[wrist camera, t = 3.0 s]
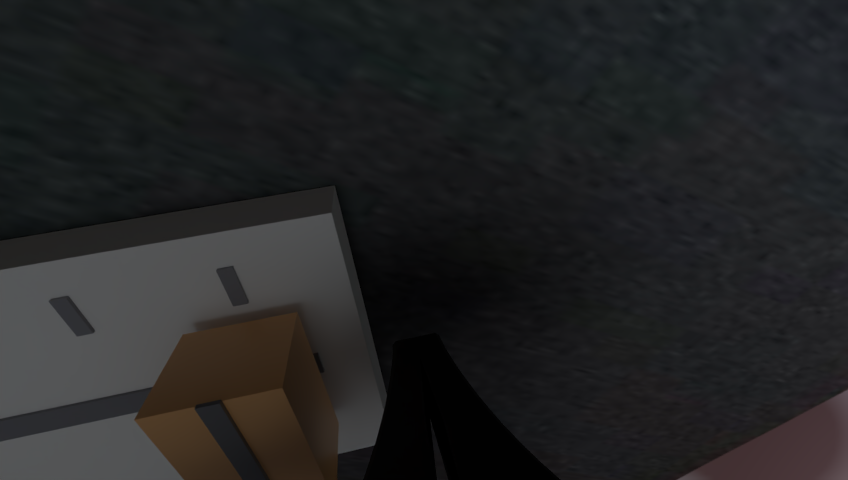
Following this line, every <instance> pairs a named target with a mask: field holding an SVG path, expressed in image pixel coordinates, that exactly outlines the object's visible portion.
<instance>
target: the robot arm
mask: <svg viewBox="0 0 848 480" xmlns="http://www.w3.org/2000/svg"><path fill="white" fill-rule="evenodd" d="M429 415H430V416H429ZM430 419H431V422H432V426H433V429H434V432H435V436H436V439H437V442H438V446H439V449H440V453H441V456H442V459H443V463H444V466H445V469H446V473H447V476H448V479H449V480H560V479H559V478H558V477H557V476H556V475H554V474H553V473H552V472H551V471H550V470H549V469H548V468H547V467H545V466H544V465H543V464H542V463H541V462H540V461H539V460H538V459H537V458H536V457H535V456H534V455H533V454H532V453H531V452H529V451H528V450H527V449H526V448H525V447H524V446H523V445H522V444H521V443H520V442H519V441H518V440H517V439H516V438H515V436H514V435H513V434H512V433H511V432H510V431H509V430H508V429H507V428H506V427H505V426H504V425H503V424H502V423H501V422H500V420H499V419H498V418H497V417H496V416H495V415H494V414H493V412H492V411H491V410H490V409H489V408H488V407H487V405H486V404H485V403H484V402H483V401H482V399H481V398H480V397H479V396H478V394H477V393H476V392H475V391H474V389H473V388H472V387H471V385H470V384H469V383H468V381H467V380H466V379H465V377H464V376H463V375H462V373H461V372H460V370H459V369H458V367H457V366H456V364H455V363H454V361H453V360H452V358H451V357H450V355H449V353H448V352H447V350H446V348H445V347H444V345H443V343H442V341H441V339H440V337H439V335H438V334H436V333H433V334H428V335H424V336H419V337H414V338H409V339H405V340H400V341H396V342H395V343H394V344H393V359H392V369H391V376H390V383H389V388H388V393H387V398H386V404H385V408H384V412H383V416H382V420H381V424H380V428H379V432H378V435H377V439H376V442H375V446H374V449H373V452H372V456H371V459H370V462H369V465H368V468H367V471H366V474H365V477H364V479H363V480H437V477H436V469H435V460H434V451H433V442H432V433H431V424H430Z"/></svg>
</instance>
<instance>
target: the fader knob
mask: <svg viewBox="0 0 848 480" xmlns="http://www.w3.org/2000/svg"><path fill="white" fill-rule="evenodd" d="M134 421H135V422H136V423H137V424H138V425H139V427H140V428H141V429H142V430H143V431H144V433H145V434H146V435H147V436H148V437H149V438H150V440H151V441H152V442H153V443H154V444H155V446H156V447H157V448H158V449H159V450H160V452H161V453H162V454H163V455H164V456H165V458H166V459H167V460H168V461H169V462H170V464H171V465H172V466H173V467H174V468H175V470H176V471H177V472H178V473H179V474H180V476H181V477H182V478H183V479H184V480H337V463H338V433H339V422H338V419H337V417H336V414H335V411H334V409H333V406H332V403H331V401H330V398H329V395H328V393H327V390H326V387H325V385H324V382H323V379H322V377H321V374H320V371H319V369H318V366H317V363H316V361H315V358H314V355H313V353H312V350H311V347H310V345H309V342H308V339H307V337H306V334H305V331H304V329H303V326H302V323H301V321H300V318H299V315H298V313H297V312H295V313H289V314H284V315H279V316H274V317H269V318H264V319H259V320H254V321H249V322H244V323H239V324H234V325H229V326H224V327H218V328H213V329H208V330H203V331H198V332H193V333H188V334H183V335H182V337H181V338H180V340H179V342H178V344H177V346H176V347H175V349H174V351H173V353H172V354H171V356H170V358H169V360H168V361H167V363H166V365H165V367H164V368H163V370H162V372H161V374H160V375H159V377H158V379H157V381H156V382H155V384H154V386H153V388H152V389H151V391H150V393H149V395H148V396H147V398H146V400H145V402H144V403H143V405H142V407H141V409H140V410H139V412H138V414H137V416H136V417H135V419H134Z"/></svg>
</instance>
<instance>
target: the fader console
mask: <svg viewBox="0 0 848 480" xmlns="http://www.w3.org/2000/svg"><path fill="white" fill-rule="evenodd" d="M295 312H297V313H298V315H299V318H300V321H301V323H302V326H303V329H304V331H305V334H306V337H307V339H308V342H309V345H310V347H311V350H312V353H313V355H314V358H315V361H316V363H317V366H318V369H319V371H320V374H321V377H322V379H323V382H324V385H325V387H326V390H327V393H328V395H329V398H330V401H331V403H332V406H333V409H334V411H335V414H336V417H337V419H338V422H339V433H338V454H340V453H344V452H349V451H353V450H357V449H361V448H366V447H370V446H374V445H375V442H376V439H377V435H378V432H379V428H380V424H381V420H382V416H383V412H384V408H385V404H386V398H387V394H386V390H385V386H384V382H383V377H382V373H381V369H380V365H379V361H378V357H377V353H376V349H375V345H374V341H373V337H372V333H371V329H370V325H369V321H368V317H367V313H366V309H365V305H364V301H363V297H362V293H361V289H360V285H359V281H358V277H357V273H356V269H355V265H354V261H353V257H352V253H351V249H350V245H349V241H348V237H347V233H346V229H345V225H344V221H343V217H342V213H341V209H340V205H339V201H338V197H337V193H336V189H335V185H334V186H328V187H322V188H316V189H310V190H304V191H298V192H292V193H286V194H280V195H274V196H268V197H262V198H255V199H249V200H243V201H237V202H231V203H225V204H219V205H213V206H207V207H201V208H195V209H189V210H183V211H177V212H171V213H165V214H159V215H153V216H147V217H141V218H135V219H129V220H123V221H117V222H111V223H105V224H98V225H92V226H86V227H80V228H74V229H68V230H62V231H56V232H50V233H44V234H38V235H32V236H26V237H20V238H14V239H8V240H2V241H0V480H184V479H183V478H182V477H181V476H180V474H179V473H178V472H177V471H176V470H175V468H174V467H173V466H172V465H171V464H170V462H169V461H168V460H167V459H166V458H165V456H164V455H163V454H162V453H161V452H160V450H159V449H158V448H157V447H156V446H155V444H154V443H153V442H152V441H151V440H150V438H149V437H148V436H147V435H146V434H145V433H144V431H143V430H142V429H141V428H140V427H139V425H138V424H137V423H136V422H135V421H134V419H135V417H136V416H137V414H138V412H139V410H140V409H141V407H142V405H143V403H144V402H145V400H146V398H147V396H148V395H149V393H150V391H151V389H152V388H153V386H154V384H155V382H156V381H157V379H158V377H159V375H160V374H161V372H162V370H163V368H164V367H165V365H166V363H167V361H168V360H169V358H170V356H171V354H172V353H173V351H174V349H175V347H176V346H177V344H178V342H179V340H180V338H181V337H182V335H183V334H188V333H193V332H198V331H203V330H208V329H213V328H218V327H224V326H229V325H234V324H239V323H244V322H249V321H254V320H259V319H264V318H269V317H274V316H279V315H284V314H289V313H295Z"/></svg>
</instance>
